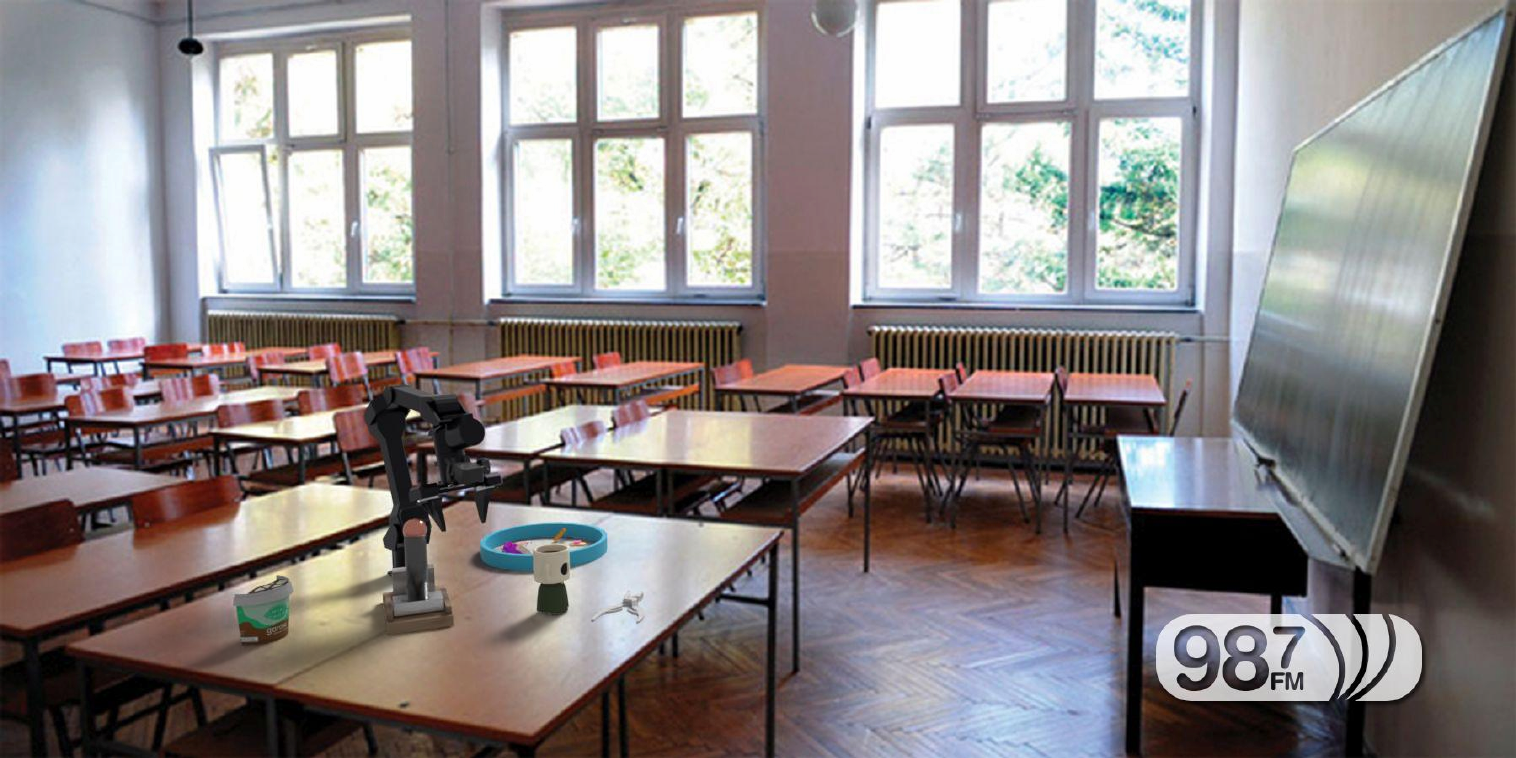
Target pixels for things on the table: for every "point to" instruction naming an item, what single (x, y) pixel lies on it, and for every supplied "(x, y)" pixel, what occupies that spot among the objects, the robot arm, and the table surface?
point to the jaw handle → (416, 574)
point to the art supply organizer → (522, 557)
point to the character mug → (551, 577)
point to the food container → (264, 612)
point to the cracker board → (420, 619)
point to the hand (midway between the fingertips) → (464, 527)
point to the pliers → (627, 601)
